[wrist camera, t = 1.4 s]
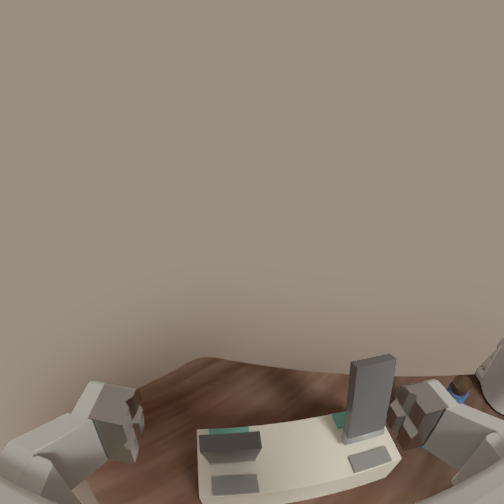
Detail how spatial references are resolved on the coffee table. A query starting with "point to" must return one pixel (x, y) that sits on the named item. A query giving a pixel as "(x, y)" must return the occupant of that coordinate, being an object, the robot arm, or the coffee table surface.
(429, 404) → the robot arm
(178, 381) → the coffee table surface
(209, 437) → the outer lever
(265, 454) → the switch unit
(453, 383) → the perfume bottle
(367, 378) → the inner lever
